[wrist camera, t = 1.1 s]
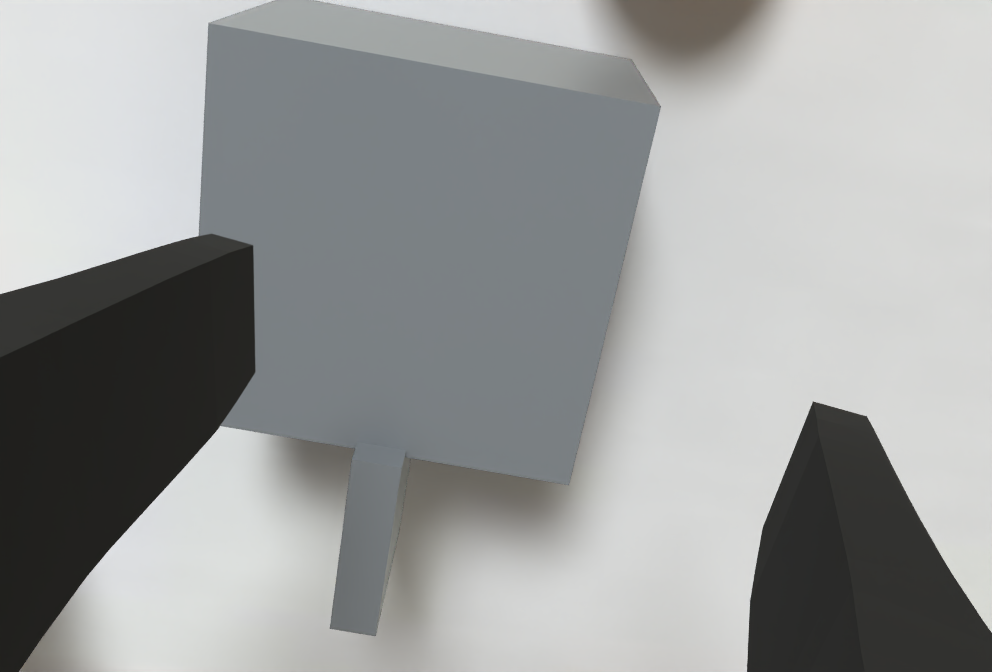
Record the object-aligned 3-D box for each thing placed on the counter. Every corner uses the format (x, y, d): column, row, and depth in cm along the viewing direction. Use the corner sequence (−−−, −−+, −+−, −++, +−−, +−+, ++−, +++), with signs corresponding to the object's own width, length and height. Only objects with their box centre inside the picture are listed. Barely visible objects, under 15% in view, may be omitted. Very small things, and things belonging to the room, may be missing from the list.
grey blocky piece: (532, 497, 32) (531, 661, 25) (253, 450, 31) (172, 603, 24) (631, 59, 26) (665, 113, 19) (288, -5, 26) (195, 27, 19)
